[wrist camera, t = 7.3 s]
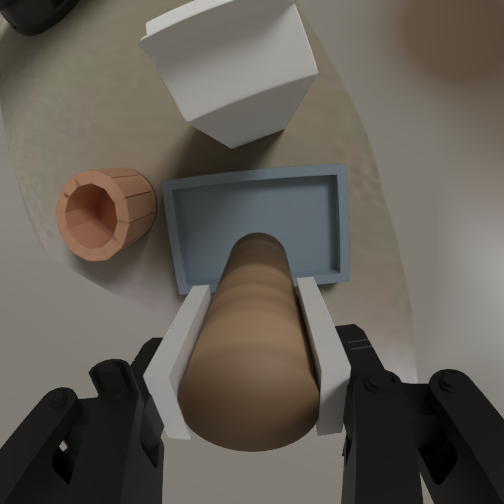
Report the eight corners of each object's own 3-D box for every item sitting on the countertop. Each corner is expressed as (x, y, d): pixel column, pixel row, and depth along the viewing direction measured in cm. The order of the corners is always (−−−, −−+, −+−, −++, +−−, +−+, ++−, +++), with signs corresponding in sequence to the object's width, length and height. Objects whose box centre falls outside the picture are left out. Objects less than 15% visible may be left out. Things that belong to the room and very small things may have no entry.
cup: (89, 176, 30) (51, 180, 23) (152, 162, 30) (121, 162, 23) (100, 244, 33) (66, 263, 25) (162, 237, 32) (136, 257, 25)
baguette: (226, 234, 20) (161, 358, 7) (284, 229, 20) (324, 350, 7) (232, 289, 21) (194, 450, 8) (288, 284, 21) (318, 446, 8)
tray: (169, 179, 30) (161, 181, 28) (339, 164, 29) (346, 163, 27) (185, 284, 34) (179, 294, 31) (342, 272, 33) (349, 281, 30)
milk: (285, 129, 29) (341, 50, 7) (231, 150, 29) (162, 115, 8) (263, 78, 27) (266, -63, 6) (209, 99, 28) (116, -7, 7)
